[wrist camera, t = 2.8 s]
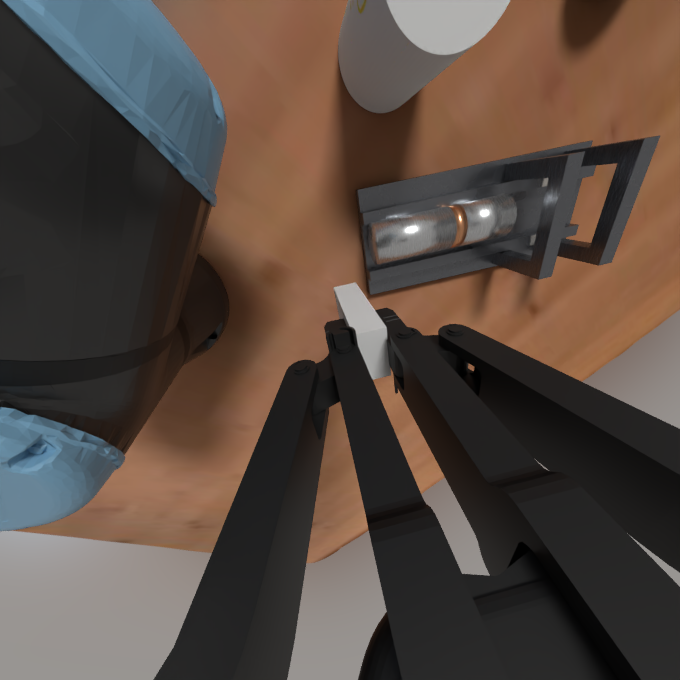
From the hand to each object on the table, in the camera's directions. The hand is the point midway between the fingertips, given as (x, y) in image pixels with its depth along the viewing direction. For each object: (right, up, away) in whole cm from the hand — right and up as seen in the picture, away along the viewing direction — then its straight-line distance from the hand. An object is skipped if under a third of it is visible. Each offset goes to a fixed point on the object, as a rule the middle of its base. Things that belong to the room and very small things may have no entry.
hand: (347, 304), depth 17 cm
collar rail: (+15, +12, +14) cm, 24 cm away
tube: (+10, +10, +13) cm, 19 cm away
